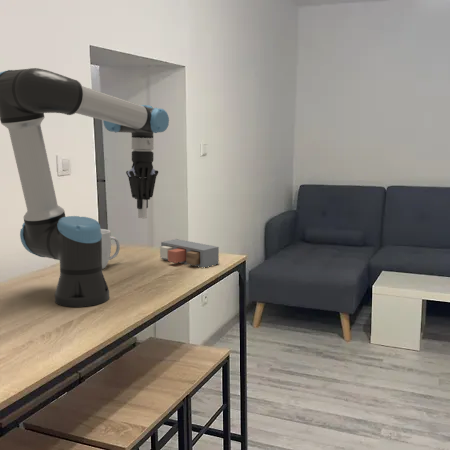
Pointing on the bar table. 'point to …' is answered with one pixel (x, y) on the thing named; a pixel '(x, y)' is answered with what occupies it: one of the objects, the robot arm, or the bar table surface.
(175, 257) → the brick peg
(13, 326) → the bar table surface
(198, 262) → the walnut peg
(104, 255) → the mug
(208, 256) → the socket block
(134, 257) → the bar table surface
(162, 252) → the cream peg
